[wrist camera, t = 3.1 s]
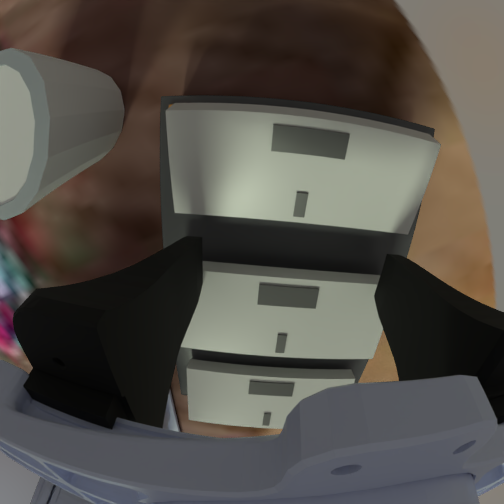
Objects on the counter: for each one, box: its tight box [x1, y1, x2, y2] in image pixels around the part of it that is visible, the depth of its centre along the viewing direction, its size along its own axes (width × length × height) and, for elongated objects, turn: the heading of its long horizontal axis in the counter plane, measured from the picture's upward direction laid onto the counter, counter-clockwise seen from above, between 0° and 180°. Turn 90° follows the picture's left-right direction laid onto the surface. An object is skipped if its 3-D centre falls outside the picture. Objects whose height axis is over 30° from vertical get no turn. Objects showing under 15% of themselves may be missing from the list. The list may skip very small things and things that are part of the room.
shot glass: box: [0, 48, 125, 220], centre depth 10 cm, size 7×7×7 cm
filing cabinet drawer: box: [181, 261, 383, 359], centre depth 13 cm, size 4×9×1 cm, turn 86°
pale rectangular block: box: [187, 359, 355, 429], centre depth 16 cm, size 4×9×1 cm, turn 86°
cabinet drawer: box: [166, 103, 441, 235], centre depth 10 cm, size 4×9×1 cm, turn 87°
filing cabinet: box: [160, 95, 435, 395], centre depth 15 cm, size 18×11×4 cm, turn 176°
